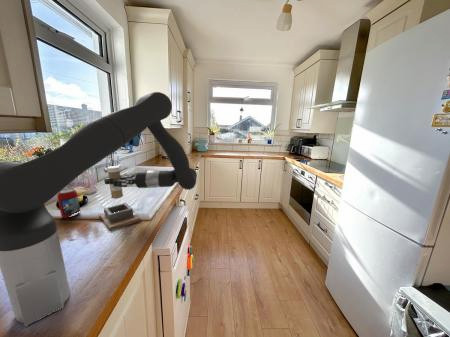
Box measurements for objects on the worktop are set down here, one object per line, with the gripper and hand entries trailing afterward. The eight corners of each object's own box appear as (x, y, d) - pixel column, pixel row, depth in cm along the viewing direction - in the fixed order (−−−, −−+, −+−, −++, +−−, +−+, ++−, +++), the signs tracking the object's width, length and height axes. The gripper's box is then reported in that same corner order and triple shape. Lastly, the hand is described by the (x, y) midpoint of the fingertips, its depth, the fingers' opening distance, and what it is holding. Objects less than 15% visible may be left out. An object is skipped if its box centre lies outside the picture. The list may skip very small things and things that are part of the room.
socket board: (140, 220, 81) (140, 211, 80) (109, 231, 73) (108, 220, 72) (126, 207, 94) (126, 199, 93) (98, 215, 86) (97, 206, 85)
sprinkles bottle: (115, 199, 78) (110, 168, 75) (109, 197, 81) (104, 167, 78) (125, 196, 82) (121, 166, 79) (119, 194, 84) (115, 165, 81)
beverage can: (69, 220, 81) (64, 194, 78) (57, 217, 83) (52, 192, 80) (84, 213, 87) (80, 188, 85) (73, 211, 89) (69, 187, 86)
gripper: (153, 166, 87) (115, 167, 85) (142, 174, 73) (96, 175, 71) (155, 182, 88) (117, 183, 87) (144, 193, 74) (99, 194, 73)
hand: (108, 179), depth 79 cm, fingers closed on sprinkles bottle, 4 cm apart
